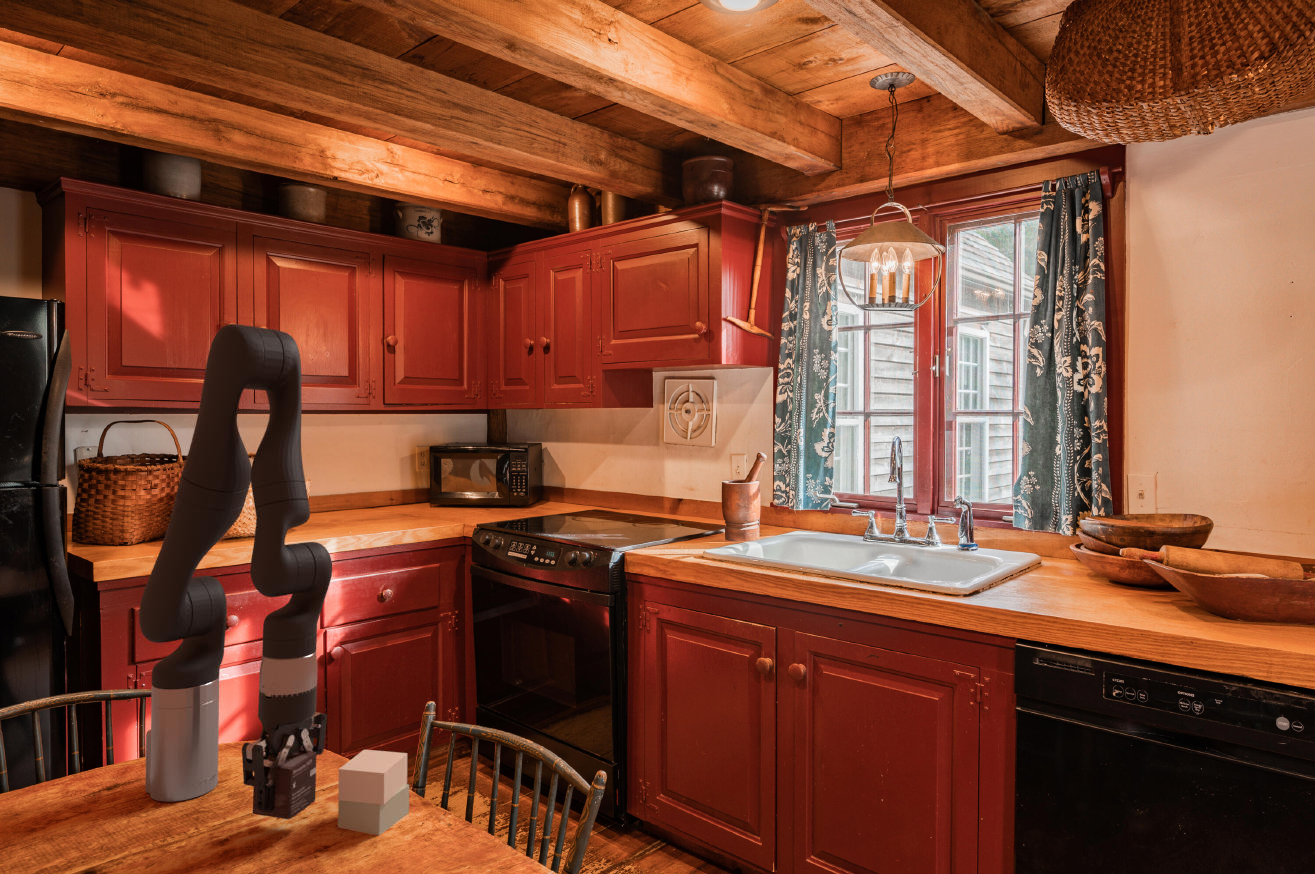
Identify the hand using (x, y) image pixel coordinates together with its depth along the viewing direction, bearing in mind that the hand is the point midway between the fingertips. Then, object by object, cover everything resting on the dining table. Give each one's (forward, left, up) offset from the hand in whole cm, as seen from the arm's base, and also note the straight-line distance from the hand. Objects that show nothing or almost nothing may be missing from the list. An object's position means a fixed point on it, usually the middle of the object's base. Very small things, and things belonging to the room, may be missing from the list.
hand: (284, 799), depth 114 cm
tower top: (+10, +7, 0) cm, 12 cm away
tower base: (+10, +7, -5) cm, 13 cm away
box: (0, 0, -1) cm, 1 cm away
